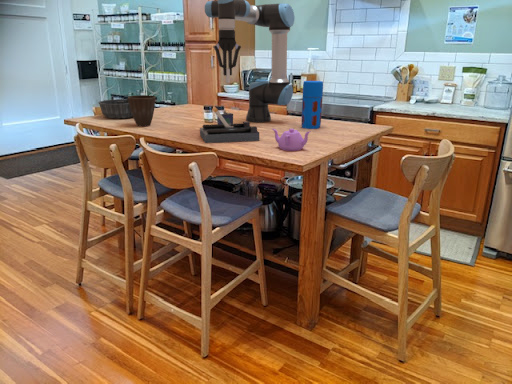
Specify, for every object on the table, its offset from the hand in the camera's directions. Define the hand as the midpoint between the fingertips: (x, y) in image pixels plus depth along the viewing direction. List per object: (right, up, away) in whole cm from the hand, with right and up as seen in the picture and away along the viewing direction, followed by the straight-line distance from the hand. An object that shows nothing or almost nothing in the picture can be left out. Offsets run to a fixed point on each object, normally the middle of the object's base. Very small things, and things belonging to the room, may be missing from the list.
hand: (227, 82), depth 197 cm
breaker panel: (0, -26, +6) cm, 26 cm away
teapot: (+29, -33, -13) cm, 46 cm away
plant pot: (-50, -15, +37) cm, 64 cm away
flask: (-3, -19, +25) cm, 32 cm away
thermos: (+45, -16, +36) cm, 60 cm away
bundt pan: (-71, -5, +64) cm, 96 cm away
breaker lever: (0, -21, +5) cm, 22 cm away
